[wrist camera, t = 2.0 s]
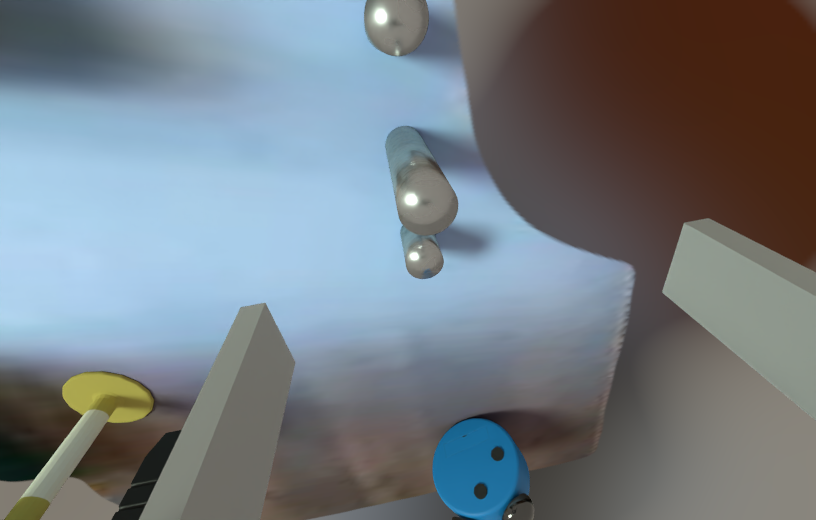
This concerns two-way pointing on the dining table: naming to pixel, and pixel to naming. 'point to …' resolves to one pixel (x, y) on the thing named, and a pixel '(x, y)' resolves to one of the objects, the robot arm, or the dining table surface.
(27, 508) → the candlestick
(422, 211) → the long pin
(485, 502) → the alarm clock
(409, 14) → the medium pin
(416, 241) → the short pin
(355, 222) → the dining table surface
